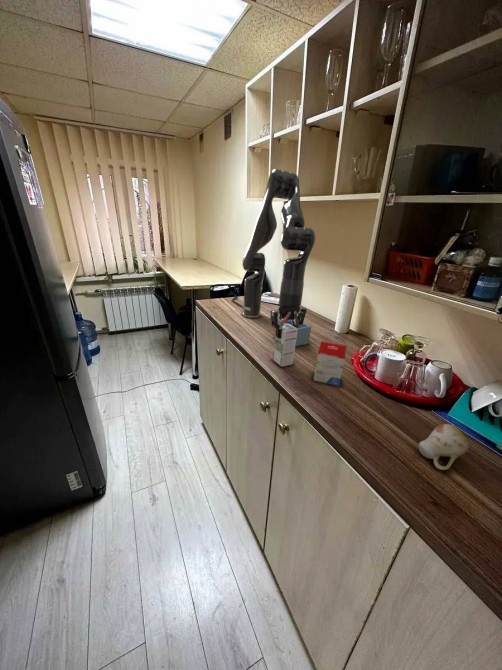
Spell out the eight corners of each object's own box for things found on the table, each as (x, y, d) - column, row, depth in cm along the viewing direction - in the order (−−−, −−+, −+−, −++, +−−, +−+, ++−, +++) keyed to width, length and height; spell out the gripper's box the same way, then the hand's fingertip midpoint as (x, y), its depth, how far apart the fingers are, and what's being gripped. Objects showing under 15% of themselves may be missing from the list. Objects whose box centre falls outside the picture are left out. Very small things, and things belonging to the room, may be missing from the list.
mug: (405, 447, 66) (425, 411, 66) (432, 459, 69) (451, 425, 69) (431, 466, 59) (453, 426, 59) (461, 479, 62) (482, 441, 61)
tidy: (275, 337, 123) (277, 321, 120) (294, 334, 128) (296, 318, 125) (288, 347, 114) (291, 330, 111) (308, 343, 119) (311, 326, 116)
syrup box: (293, 364, 101) (298, 328, 96) (280, 367, 98) (285, 330, 93) (284, 357, 106) (289, 322, 100) (271, 360, 103) (275, 324, 97)
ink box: (339, 379, 94) (348, 340, 88) (339, 386, 89) (348, 346, 84) (314, 373, 96) (321, 335, 90) (312, 380, 92) (319, 341, 86)
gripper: (301, 287, 98) (295, 330, 104) (267, 289, 91) (263, 335, 98) (315, 292, 92) (308, 338, 98) (279, 295, 85) (274, 344, 92)
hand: (285, 336), depth 98 cm, fingers closed on syrup box, 5 cm apart
